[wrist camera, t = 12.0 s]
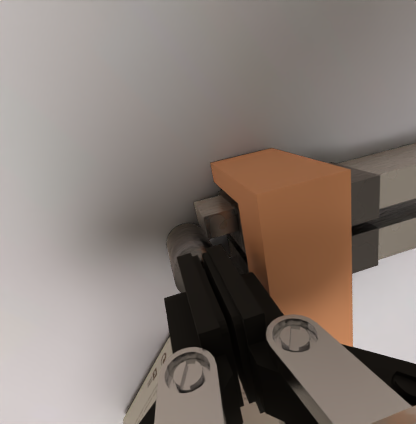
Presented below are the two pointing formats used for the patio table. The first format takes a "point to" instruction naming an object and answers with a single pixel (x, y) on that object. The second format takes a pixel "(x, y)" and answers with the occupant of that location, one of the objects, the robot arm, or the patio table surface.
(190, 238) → the tongs fixed
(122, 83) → the patio table surface
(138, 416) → the skincare box
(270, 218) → the collar
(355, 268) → the tongs arm
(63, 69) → the patio table surface
